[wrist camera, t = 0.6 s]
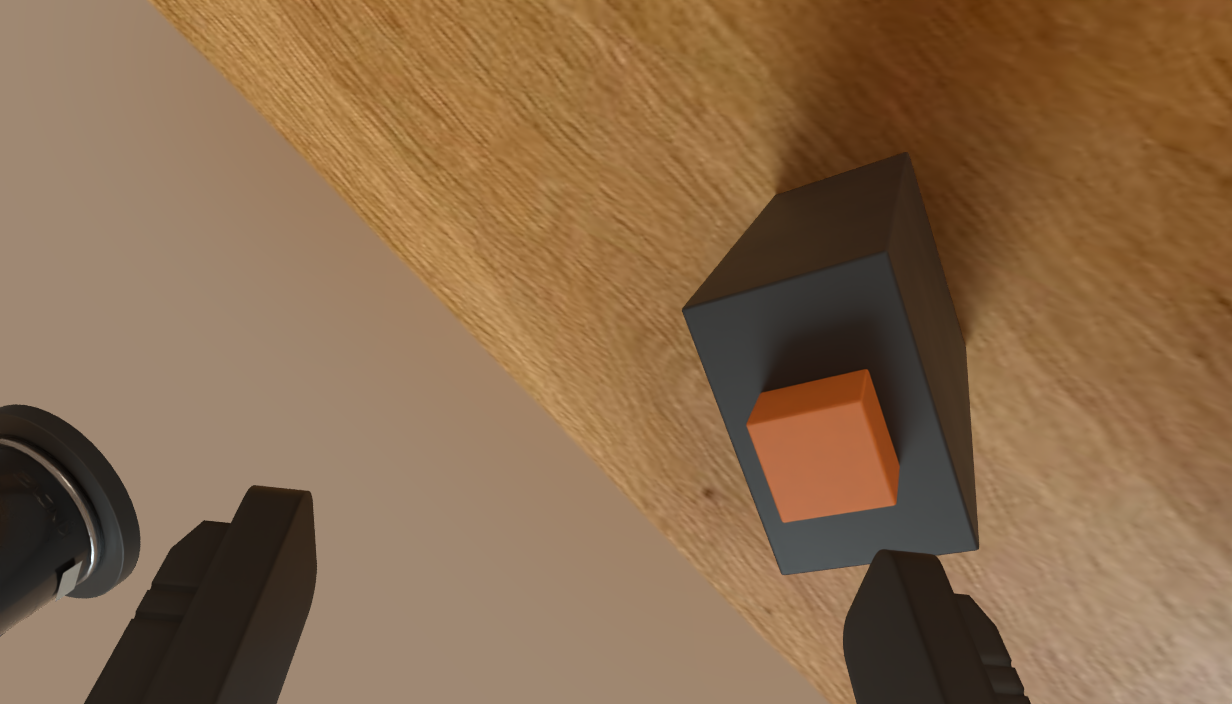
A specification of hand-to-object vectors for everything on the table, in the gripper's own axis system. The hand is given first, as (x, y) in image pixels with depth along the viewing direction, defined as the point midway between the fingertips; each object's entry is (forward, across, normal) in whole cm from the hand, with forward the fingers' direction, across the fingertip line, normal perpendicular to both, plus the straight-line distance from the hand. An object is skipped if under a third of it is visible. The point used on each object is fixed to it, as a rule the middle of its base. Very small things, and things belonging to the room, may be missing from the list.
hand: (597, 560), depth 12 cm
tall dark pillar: (+17, +10, -3) cm, 20 cm away
